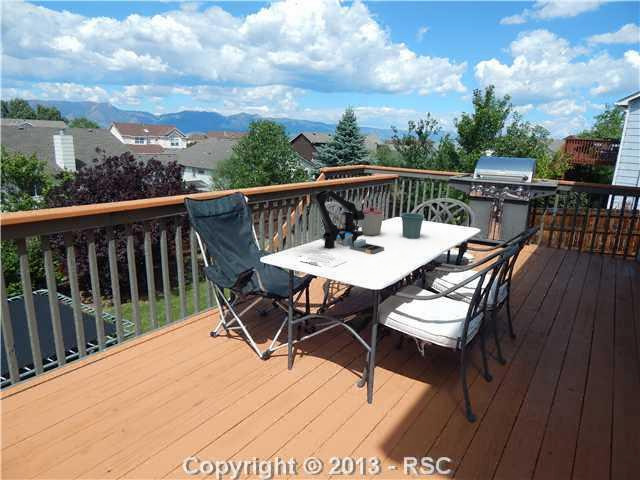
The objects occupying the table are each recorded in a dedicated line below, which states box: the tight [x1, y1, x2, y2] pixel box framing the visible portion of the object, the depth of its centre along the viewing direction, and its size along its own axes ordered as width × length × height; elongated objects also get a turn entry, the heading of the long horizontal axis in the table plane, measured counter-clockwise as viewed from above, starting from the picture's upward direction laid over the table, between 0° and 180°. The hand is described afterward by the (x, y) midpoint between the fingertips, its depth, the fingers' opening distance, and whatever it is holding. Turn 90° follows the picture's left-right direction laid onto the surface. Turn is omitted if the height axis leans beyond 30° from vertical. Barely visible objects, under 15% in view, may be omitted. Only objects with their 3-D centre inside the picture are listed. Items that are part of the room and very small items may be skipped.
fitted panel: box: [354, 238, 367, 247], centre depth 262 cm, size 9×3×5 cm, turn 139°
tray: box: [301, 252, 347, 268], centre depth 240 cm, size 20×28×4 cm
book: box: [320, 233, 353, 243], centre depth 293 cm, size 17×4×25 cm
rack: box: [349, 242, 385, 255], centre depth 259 cm, size 13×19×3 cm
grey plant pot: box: [360, 206, 385, 237], centre depth 301 cm, size 18×18×21 cm
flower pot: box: [400, 212, 425, 239], centre depth 296 cm, size 16×16×16 cm
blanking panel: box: [342, 237, 353, 247], centre depth 270 cm, size 9×3×5 cm, turn 139°
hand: (348, 244), depth 271 cm, fingers open, 8 cm apart
